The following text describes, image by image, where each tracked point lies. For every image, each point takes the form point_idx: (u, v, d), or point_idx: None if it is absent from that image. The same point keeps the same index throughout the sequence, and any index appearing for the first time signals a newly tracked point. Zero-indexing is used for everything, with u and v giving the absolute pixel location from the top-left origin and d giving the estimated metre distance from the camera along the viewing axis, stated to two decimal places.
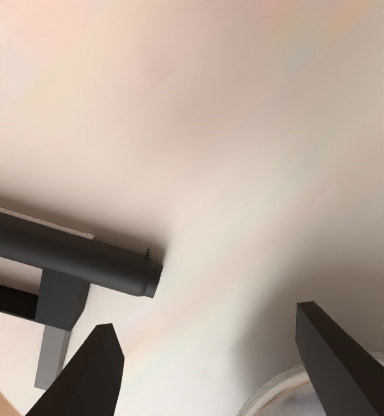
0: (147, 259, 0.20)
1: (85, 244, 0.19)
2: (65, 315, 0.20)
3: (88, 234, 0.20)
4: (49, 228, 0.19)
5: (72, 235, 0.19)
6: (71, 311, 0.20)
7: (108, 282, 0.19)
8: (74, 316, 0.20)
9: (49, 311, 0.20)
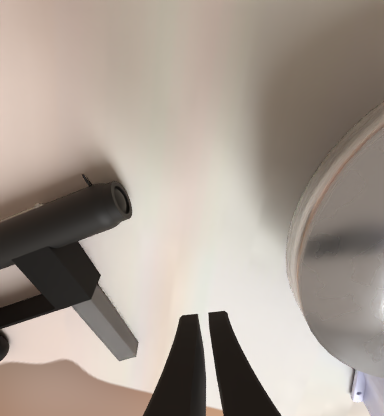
0: (92, 185, 0.16)
1: (27, 214, 0.17)
2: (72, 288, 0.18)
3: (35, 206, 0.18)
4: None
5: (16, 215, 0.17)
6: (72, 281, 0.18)
7: (70, 232, 0.16)
8: (81, 284, 0.18)
9: (57, 294, 0.18)
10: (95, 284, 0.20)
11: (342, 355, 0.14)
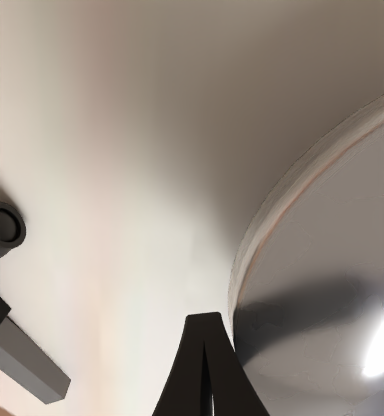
0: None
1: None
2: None
3: None
4: None
5: None
6: None
7: None
8: None
9: None
10: None
11: None
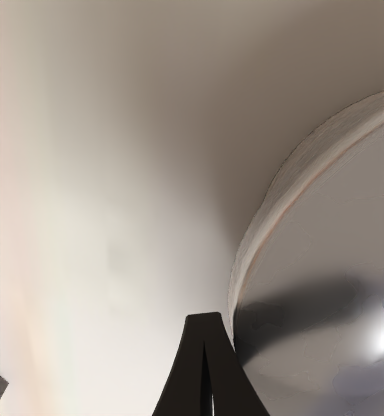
0: None
1: None
2: None
3: None
4: None
5: None
6: None
7: None
8: None
9: None
10: None
11: None
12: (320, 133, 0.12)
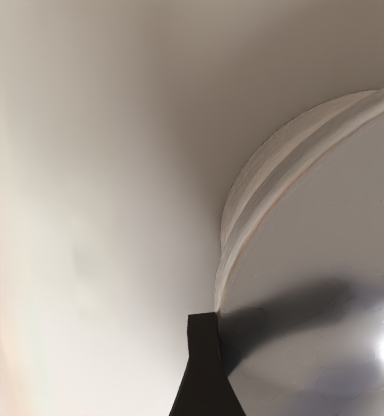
0: None
1: None
2: None
3: None
4: None
5: None
6: None
7: None
8: None
9: None
10: None
11: None
12: (273, 139, 0.12)
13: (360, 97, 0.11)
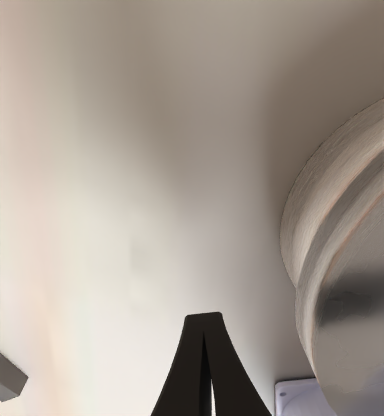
0: None
1: None
2: None
3: None
4: None
5: None
6: None
7: None
8: None
9: None
10: None
11: None
12: (348, 129, 0.12)
13: None
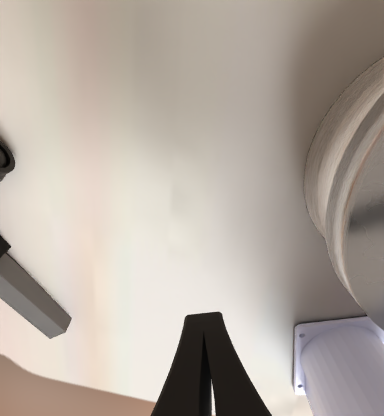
0: None
1: None
2: None
3: None
4: None
5: None
6: None
7: None
8: None
9: None
10: (0, 254, 0.19)
11: None
12: (367, 75, 0.14)
13: None
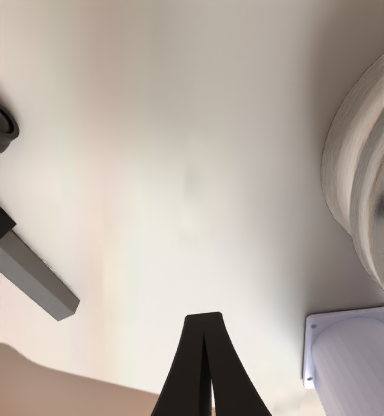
0: None
1: None
2: None
3: None
4: None
5: None
6: None
7: None
8: None
9: None
10: (5, 231, 0.18)
11: None
12: None
13: None
